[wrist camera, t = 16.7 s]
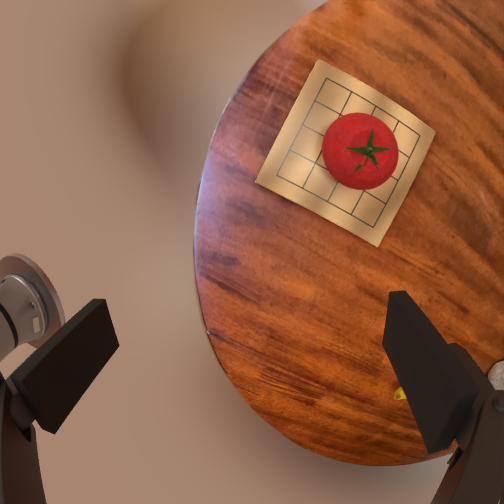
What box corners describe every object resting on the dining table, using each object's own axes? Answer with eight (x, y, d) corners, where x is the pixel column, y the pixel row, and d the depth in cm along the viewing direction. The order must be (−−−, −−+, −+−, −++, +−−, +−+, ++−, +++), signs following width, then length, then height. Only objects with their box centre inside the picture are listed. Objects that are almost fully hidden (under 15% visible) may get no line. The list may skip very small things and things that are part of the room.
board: (255, 181, 37) (254, 182, 36) (317, 60, 31) (318, 58, 30) (375, 245, 38) (377, 247, 37) (432, 132, 33) (436, 131, 31)
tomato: (338, 198, 36) (353, 210, 28) (304, 134, 34) (312, 128, 26) (396, 169, 34) (424, 173, 26) (365, 106, 32) (387, 94, 24)
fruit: (428, 391, 45) (437, 408, 41) (421, 398, 46) (429, 415, 41) (394, 378, 45) (402, 397, 40) (387, 386, 45) (394, 405, 41)
